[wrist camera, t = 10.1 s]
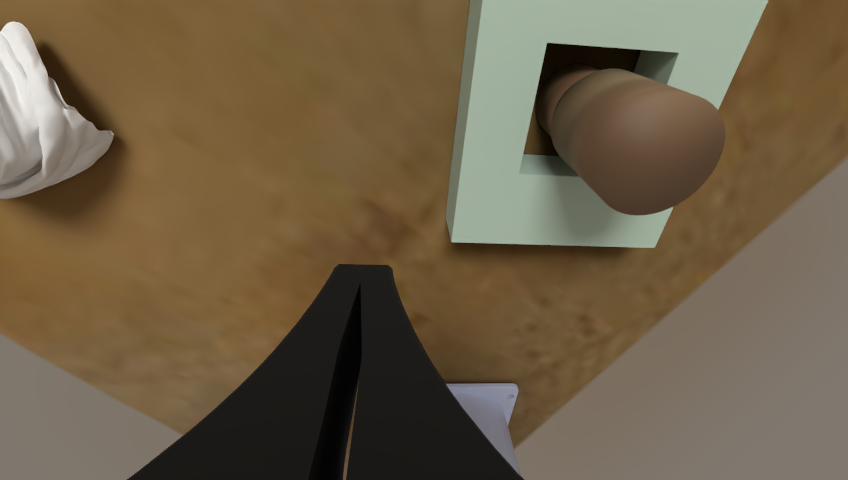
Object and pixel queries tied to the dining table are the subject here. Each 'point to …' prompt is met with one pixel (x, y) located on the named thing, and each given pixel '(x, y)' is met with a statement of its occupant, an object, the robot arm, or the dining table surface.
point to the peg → (631, 136)
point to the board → (515, 94)
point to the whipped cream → (38, 122)
